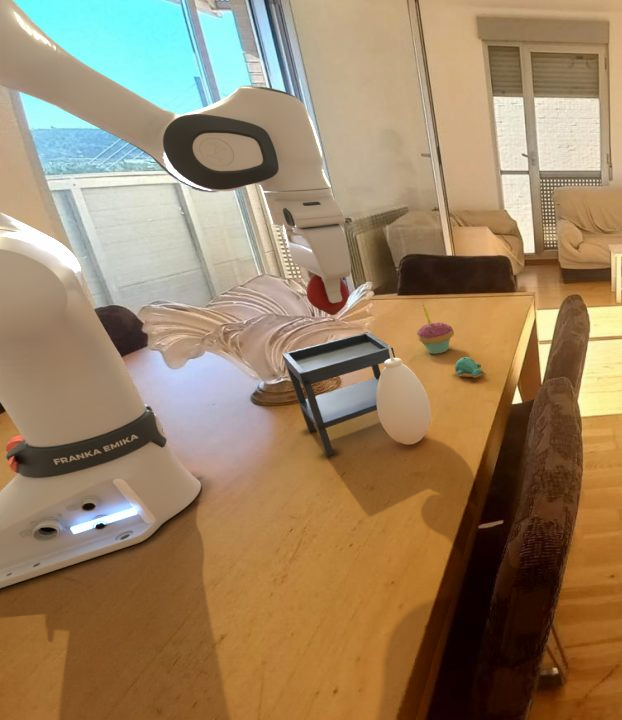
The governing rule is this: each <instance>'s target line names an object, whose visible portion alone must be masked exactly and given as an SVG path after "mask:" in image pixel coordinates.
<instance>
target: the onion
mask: <svg viewBox="0 0 622 720" xmlns="http://www.w3.org/2000/svg"><path fill="white" fill-rule="evenodd" d="M325 291H326V289H325V285H324V282H323V281H322V277H320V276H318V275H316V274H315V275H314V276H313V277H312V278H311V279H309V280H308V283H307V285H306V298H307V300H308V302H309V303H310V304H311V306H312V307H314V308H316V309H317V310H319V311H322V312H324V313H326V314H327V315H330V316H335V315H337V314H338V313H339V312H340V311H342V309H343V308H344V307H345V306H346V305H347V303H348V300H349V297H350V294H349V289H348V287H347V285H346V284H345V282H344V281H343V280H342V278H340V292H341V296H342V301H341V302H337V303H331V302H329V301H328V300H327V296H326V293H325Z"/></svg>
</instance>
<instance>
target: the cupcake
mask: <svg viewBox="0 0 622 720" xmlns="http://www.w3.org/2000/svg"><path fill="white" fill-rule="evenodd" d="M422 306H423V312H424V315H425V318H426V320H427V324H425V325H423V326H421V328H419V329H418V331H417V333H416V335H417V339H418V341H419V342H421V343H422V344H423V345H424V347H425V348H426V350H427V352H428V354H429V353H430V354H433V355H436V354H437V355H438V354H442V353H445V352H447V351H449V346H450V342H451V341H450V340H451V338H452V337H453V336H454V334H455V331H454V328H453V327H452V326H451V325H449V324H447V323H444V322H433V323H432V320H431V318H430V315H429V312H428V309H427V307H426V306H425V304H422Z"/></svg>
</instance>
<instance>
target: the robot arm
mask: <svg viewBox="0 0 622 720" xmlns="http://www.w3.org/2000/svg"><path fill="white" fill-rule="evenodd" d="M0 86H1V87H4V88H7V89H10V90H13V91H16V92H19V93H22V94H24V95H27V96H30V97H32V98H35V99H37V100H40V101H42V102H44V103H47V104H50V105H52V106H54V107H56V108H58V109H60V110H63V111H64V112H67V113H68V114H71V115H72V116H75V117H76V118H78V119H81V120H82V121H84V122H86V123H88V124H90V125H92V126H95V128H98V129H100V130H102V131H105V132H106V133H108V134H109V135H113V136H114V137H116V138H118V139H120V140H121V141H124V142H125V143H128V144H130V145H132V147H133V146H134V147H135V148H136V149H138V150H140V151H141V152H143V153H145V154H146V155H148V157H150V159H152V160H153V161H154V162H155V163H156V165H158V166H159V167H160V168H161V169H162V170H163V171H164V172H165V173H166V174H168V175H169V176H170V177H171V178H172V179H174V180H175V181H177V182H178V183H180V184H182V185H183V186H185V187H187V188H189V189H192V190H195V191H198V192H202V193H222V192H225V193H226V192H233V191H237V190H239V189H242V188H244V187H245V186H250V185H254V184H256V185H258V186H259V187H260V189H261V192H262V196H263V198H264V202H265V205H266V208H267V212H268V214H269V217H270V220H271V223H272V225H275V226H282V229H283V233H284V238H285V240H286V245H287V247H288V251H289V255H290V257H291V260H292V262H293V263H294V264H295V265H297V266H299V267H301V268H303V269H304V270H305V273H306V275H307V277H308V279H309V280H310V279H311V278H312V277H313V276H314V275H315V274H316V275H318V276H320V277H322V281H323V282H324V285H325V289H326V291H325V293H326V296H327V300H328V301H329V302H331V303H337V302H341V301H342V296H341V292H340V279H343V278H348V277H350V276H351V273H352V263H351V258H350V251H349V248H348V241H347V236H346V233H345V230H344V228H343V226H342V224H343V225H344V224H345V223H346V217H345V213H344V211H343V209H342V208H341V206H340V205H338V204H337V202H336V199H335V197H334V194H333V189H332V186H331V184H330V182H329V180H328V179H327V176H326V174H325V170H324V155H323V152H322V151H323V150H322V148H321V145H320V140H319V137H318V135H317V132H316V128H315V126H314V122H313V120H312V118H311V115H310V113H309V111H308V109H307V107H306V105H305V104H304V103H303V102H302V101H301V100H300V99H299V98H298V97H296V96H295V95H293V94H291V93H288V92H286V91H284V90H280V89H276V88H271V87H268V86H267V87H266V86H256V85H242V86H239V87H237V88H236V89H235V91H233V92H232V93H231V94H229V95H228V96H226V97H224V98H223V99H220V100H219V101H217V102H215V103H212V104H210V105H208V106H206V107H202V108H200V109H197V110H194V111H188V112H186V113H183V114H178V113H176V112H172V111H169V110H167V109H164V108H163V107H161V106H158V105H157V104H155V103H153V102H151V101H149V100H148V99H146V98H144V97H142V96H141V95H139V94H137V93H135V92H134V91H132V90H130V89H129V88H127V87H125V86H124V85H121V84H120V83H118V82H116V81H115V80H113V79H111V78H109V77H107V76H106V75H104V74H103V73H100V72H99V71H97V70H95V69H94V68H92V67H91V66H89V65H87V64H85V63H84V62H82V61H81V60H79V59H78V58H77V57H75V56H73V55H72V54H71V53H70V52H69V51H67V50H65V48H63V47H62V46H61V45H60V44H58V43H57V42H56V41H55V40H53V39H52V38H51V37H50V36H49V35H48V34H47V33H46V32H45V31H44V30H43V29H42V28H40V26H39V25H37V23H36V22H34V20H33V19H32V18H31V17H30V16H29V14H27V13H26V12H25V11H24V10H23V9H22V8H21V7H20V6H19V5H18V4H17V2H15V0H0ZM80 265H81V264H80V263H79V262H78V259H77V258H76V256H75V255H74V254H73V252H72V251H70V250H69V249H68V248H67V247H66V246H65V245H64V244H63V243H61V242H59V241H58V240H57V239H54V238H52V237H51V236H48V235H47V234H45V233H43V232H41V231H39V230H37V229H36V228H33V227H32V226H29V225H27V224H25V223H24V222H21V221H19V220H17V219H15V218H13V217H12V216H9V215H7V214H5V213H4V212H1V211H0V405H1V406H2V407H3V409H4V410H5V412H6V414H7V415H8V417H9V418H10V420H11V421H12V423H13V425H14V426H15V427H16V429H17V431H18V432H19V434H20V435H15V436H12V437H11V438H9V439H8V442H7V443H6V446H5V451H6V453H7V454H6V457H5V458H6V460H7V465H8V466H9V467H10V469H11V471H12V472H13V473H16V475H15V476H14V477H13V478H11V480H10V481H9V482H8V483H7V484H6V485H5V486H3V488H2V489H0V589H2V588H5V587H8V586H12V585H15V584H17V583H21V582H24V581H27V580H30V579H32V578H36V577H39V576H42V575H45V574H48V573H52V572H54V571H57V570H60V569H64V568H66V567H69V566H72V565H75V564H78V563H82V562H85V561H88V560H91V559H94V558H97V557H100V556H103V555H106V554H109V553H112V552H116V551H120V550H122V549H124V548H127V547H130V546H133V545H137V544H139V543H142V542H144V541H145V540H147V539H148V538H150V537H151V536H152V535H153V534H154V533H155V532H156V531H157V530H158V529H159V528H161V526H162V525H163V524H165V523H166V522H167V521H168V520H170V519H172V518H173V517H174V516H176V515H177V514H179V513H180V512H182V511H183V510H184V509H186V507H188V506H189V505H190V504H191V503H192V502H193V501H194V500H195V499H196V498H197V496H198V495H199V494H200V491H201V490H202V489H201V488H202V484H201V481H200V480H199V479H198V478H196V477H195V476H194V475H193V474H192V473H191V472H190V471H188V469H187V468H186V467H185V466H184V465H183V464H182V463H181V461H180V460H179V458H177V456H176V454H175V453H174V452H173V451H172V449H171V448H170V446H169V445H168V443H167V442H168V441H167V435H166V432H165V430H164V427H163V425H162V424H161V421H160V419H159V418H158V416H157V414H156V413H155V412H154V410H153V409H152V407H151V406H150V405H149V404H146V403H145V402H144V400H143V398H142V396H141V394H140V392H139V390H138V387H137V385H136V383H135V382H134V380H133V377H132V375H131V374H130V371H129V370H128V368H127V366H126V364H125V360H124V359H123V357H122V355H121V354H120V351H118V348H117V347H116V346H115V343H113V340H112V339H111V337H110V335H109V334H108V332H107V331H106V329H105V327H104V325H103V323H102V322H101V319H100V318H99V316H98V314H97V312H96V310H95V308H94V307H93V305H92V303H91V301H90V299H89V298H88V295H87V294H86V291H85V289H84V286H83V281H82V280H83V274H82V272H83V271H82V269H81V266H80Z"/></svg>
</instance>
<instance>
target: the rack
mask: <svg viewBox="0 0 622 720" xmlns="http://www.w3.org/2000/svg"><path fill="white" fill-rule="evenodd" d="M388 345H389V344H388V343H386V342H385V341H384V340H382V339H380V338H379V337H378V336H375V334H372V333H371V332H370V331H366V332H363V333H359V334H354V335H350V336H346V337H342V338H339V339H334V340H331V341H327V342H323V343H319V344H315V345H311V346H306V347H302V348H299V349H294V350H292V351H287V352H283V353H281V355H282V358H283V361H284V365H285V367H286V370H287V373H288V376H289V378H290V381H291V384H292V387H293V391H294V393H295V396H296V399H297V402H298V405H299V407H300V410H301V413H302V416H303V420H304V423H305V425H306V427H307V430H308V432H309V433H312V432H314V431H317V432H318V435H319V438H320V441H321V445H322V447H323V450H324V454H325V456H326V457H329V456H332V455H334V454H335V451H334V449H333V446H332V443H331V439H330V437H329V433H328V432H327V428H331V427H333V426H336V425H339V424H341V423H344V422H347V421H350V420H353V419H355V418H356V419H357V418H358V417H361V416H364V415H367V414H369V413H372V412H375V411H377V404H376V394H377V386H378V381H379V378H380V375H381V370H380V366H379V365H380V364H381V365H382V364H384V362H385V361H386V360H388V359H390V354H389V349H388ZM390 347H391V350H392V354H393V357H394V358H396V355H395V351H394V348H393V347H392V346H391V345H390ZM370 367H371V369H372V373H373V377H372V378H369V379H366V380H363V381H359V382H356V383H353V384H350V385H346V386H343V387H340V388H337V389H333V390H331V391H327V392H324V393H321V394H318V395H315V392H314V389H313V386H312V385H314V384H317V383H321V382H323V381H326V380H330V379H333V378H337V377H340V376H344V375H347V374H351V373H354V372H357V371H361V370H364V369H367V368H370ZM303 390H304V391H303ZM304 393H305V394H304ZM305 396H306V397H305ZM316 429H317V430H316Z"/></svg>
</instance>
